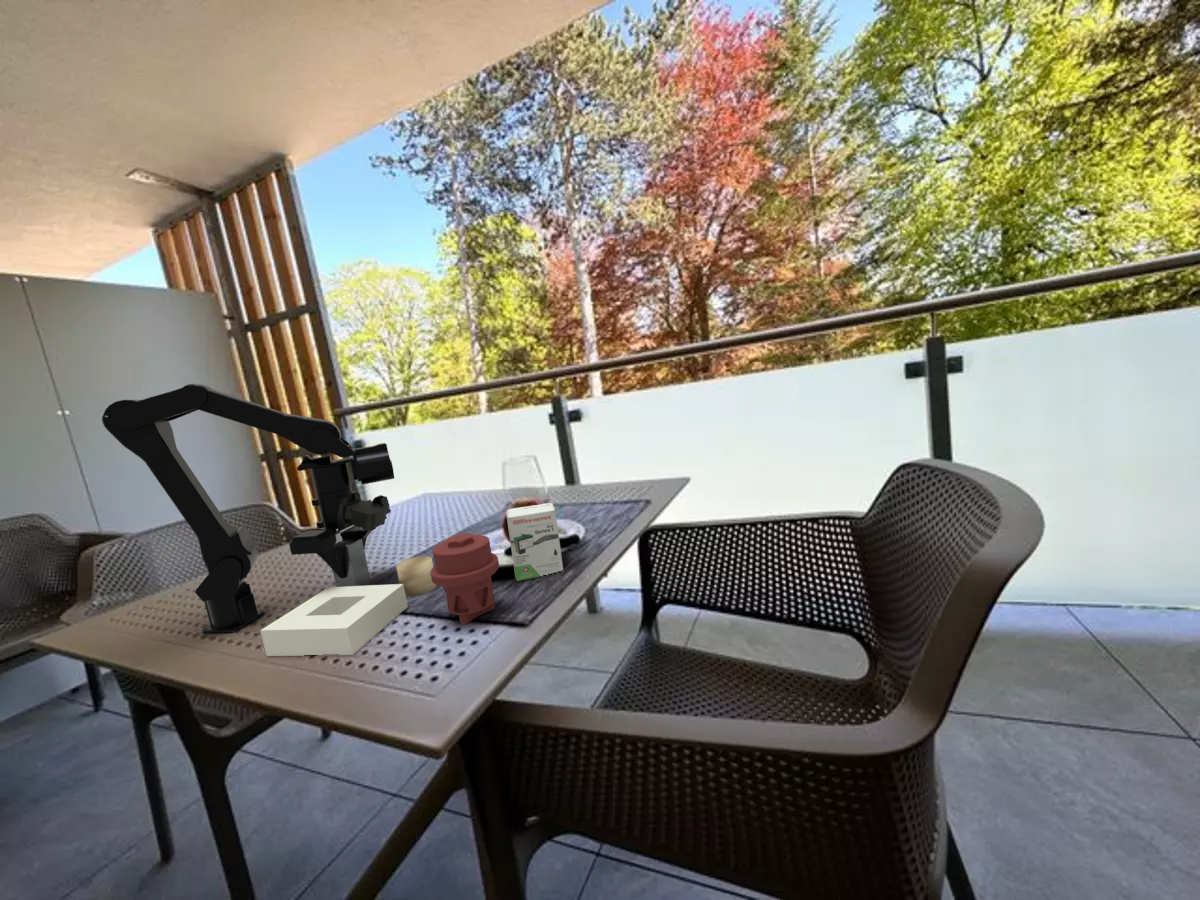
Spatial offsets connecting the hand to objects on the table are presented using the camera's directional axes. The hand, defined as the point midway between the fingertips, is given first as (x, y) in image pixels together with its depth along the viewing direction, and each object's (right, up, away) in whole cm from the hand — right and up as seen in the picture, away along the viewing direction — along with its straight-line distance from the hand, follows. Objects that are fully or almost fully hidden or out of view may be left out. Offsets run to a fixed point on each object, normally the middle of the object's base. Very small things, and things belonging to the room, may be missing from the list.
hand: (351, 572), depth 93 cm
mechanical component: (+26, -3, -15) cm, 30 cm away
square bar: (0, -3, 0) cm, 3 cm away
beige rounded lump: (+13, -2, -2) cm, 13 cm away
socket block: (+6, -5, -15) cm, 16 cm away
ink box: (+35, 0, -1) cm, 35 cm away
